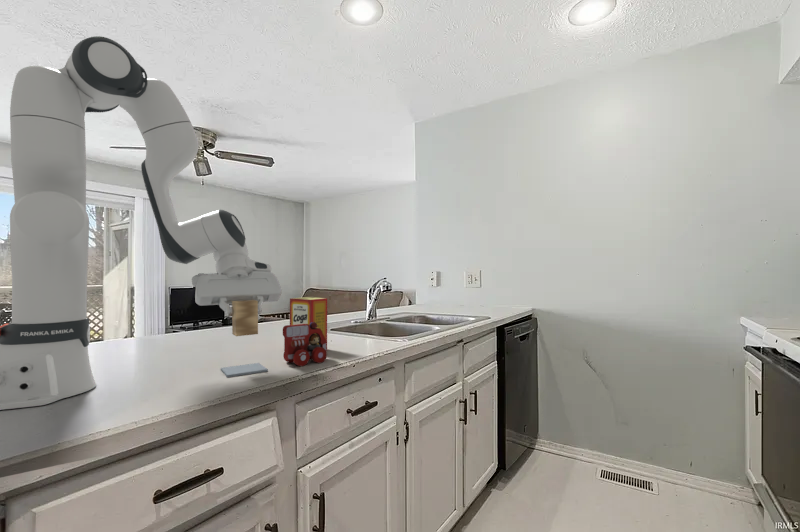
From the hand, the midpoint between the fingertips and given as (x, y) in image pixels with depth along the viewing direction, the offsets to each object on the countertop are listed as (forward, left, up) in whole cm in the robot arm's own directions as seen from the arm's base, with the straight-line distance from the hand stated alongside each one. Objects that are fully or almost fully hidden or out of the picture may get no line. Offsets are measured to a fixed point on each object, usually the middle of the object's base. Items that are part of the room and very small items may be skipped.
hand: (244, 313), depth 94 cm
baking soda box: (+22, +16, -14) cm, 31 cm away
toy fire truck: (+15, 0, -14) cm, 21 cm away
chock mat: (0, 0, -14) cm, 14 cm away
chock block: (0, 0, -5) cm, 5 cm away
